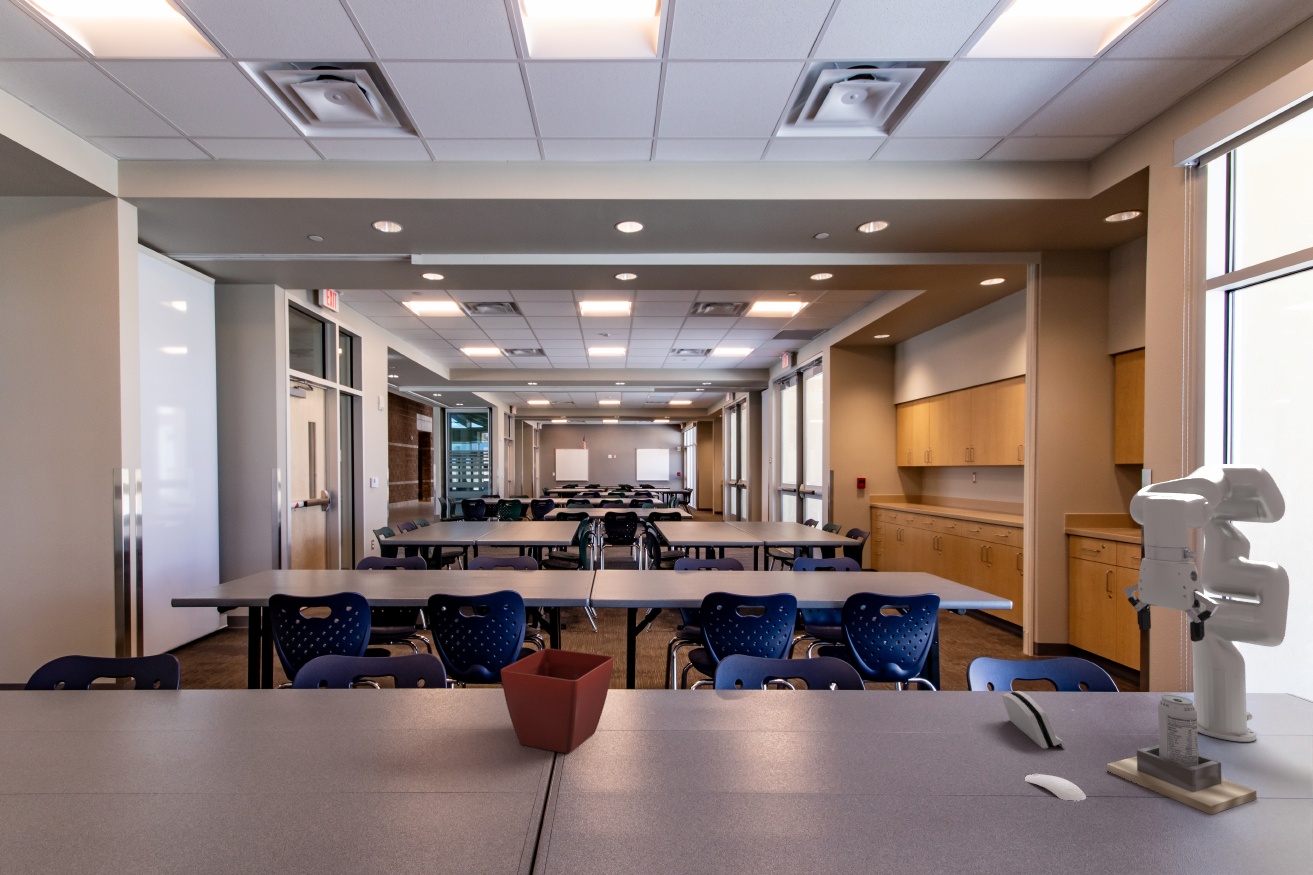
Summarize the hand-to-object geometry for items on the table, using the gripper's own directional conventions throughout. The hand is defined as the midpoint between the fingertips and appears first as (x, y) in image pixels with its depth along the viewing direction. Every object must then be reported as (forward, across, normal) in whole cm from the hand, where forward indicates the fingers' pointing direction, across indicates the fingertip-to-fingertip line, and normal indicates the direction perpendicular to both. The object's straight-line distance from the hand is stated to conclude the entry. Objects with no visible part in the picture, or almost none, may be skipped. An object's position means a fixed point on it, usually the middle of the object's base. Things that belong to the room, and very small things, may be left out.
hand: (1170, 634), depth 137 cm
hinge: (+27, +23, +14) cm, 38 cm away
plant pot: (+23, +62, +117) cm, 134 cm away
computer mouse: (+26, +4, +34) cm, 43 cm away
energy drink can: (+25, -6, +10) cm, 28 cm away
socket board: (+27, -6, +10) cm, 29 cm away
